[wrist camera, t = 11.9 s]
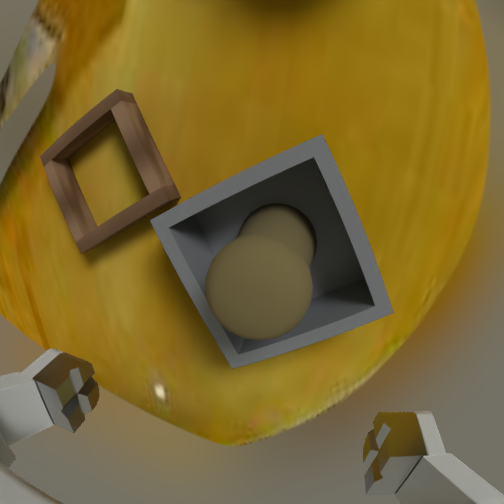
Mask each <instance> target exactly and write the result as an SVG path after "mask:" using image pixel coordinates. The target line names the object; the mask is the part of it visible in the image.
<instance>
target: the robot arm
mask: <svg viewBox="0 0 504 504" xmlns="http://www.w3.org/2000/svg"><path fill="white" fill-rule="evenodd" d="M94 373H95V372H94V369H93V366H92V364H91V363H89V362H88V361H85V360H83V359H80V358H77V357H75V356H72V355H70V354H67V353H64V352H62V351H59V350H57V349H54V348H53V349H48V350H47V351H46V352H45V353H44V354H42V355H41V356H40V357H39V358H38V359H37V360H36V361H34V362H33V363H32V364H31V365H29V366H28V367H27V368H26V369H25V370H24V371H22V372H21V373H19V372H15V373H11V374H7V375H3V376H0V504H63V503H61V502H59V501H58V500H56V499H54V498H53V497H51V496H49V495H48V494H46V493H45V492H43V491H41V490H40V489H38V488H37V487H35V486H34V485H32V484H30V483H29V482H27V481H26V480H25V479H23V478H22V477H20V476H19V475H17V474H16V473H15V472H13V471H12V470H11V469H9V467H10V466H11V464H12V463H13V462H14V461H15V460H16V459H15V455H14V453H13V452H12V450H11V449H10V447H9V445H12V444H14V443H16V442H18V441H20V440H23V439H25V438H27V437H29V436H32V435H33V434H36V433H38V432H40V431H42V430H44V429H46V428H49V427H51V426H52V425H53V424H55V425H57V426H59V427H62V428H64V429H66V430H68V431H70V432H72V433H75V431H76V430H77V429H78V428H79V426H80V425H81V424H82V423H83V422H84V420H85V413H88V412H90V411H92V410H93V409H94V408H95V406H96V405H97V402H98V399H99V387H98V384H97V382H96V381H95V380H94V379H93V377H92V376H93V374H94ZM373 424H374V429H373V430H371V431H370V432H369V433H368V435H367V437H366V439H365V443H364V448H363V463H364V464H365V465H366V467H368V470H367V472H366V474H365V489H366V495H378V494H379V495H380V494H395V496H396V497H397V499H398V500H399V501H400V503H401V504H504V495H503V494H501V493H500V492H499V491H497V490H496V489H495V488H494V487H492V486H491V485H490V484H489V483H487V482H486V481H485V480H483V479H482V478H481V477H480V476H478V475H477V474H476V473H475V472H473V471H472V470H471V469H470V468H468V467H467V466H466V465H465V464H463V463H462V462H461V461H459V460H458V459H457V458H456V457H455V456H453V455H452V454H451V453H447V454H446V452H445V449H444V446H443V443H442V440H441V437H440V434H439V431H438V428H437V426H436V423H435V420H434V417H433V415H432V413H431V412H430V411H420V412H419V411H418V412H379V413H378V414H377V415H376V417H375V419H374V421H373Z"/></svg>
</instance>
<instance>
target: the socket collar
mask: <svg viewBox="0 0 504 504" xmlns="http://www.w3.org/2000/svg"><path fill="white" fill-rule="evenodd" d="M115 120H116V122H117V125H118V127H119V129H120V131H121V134H122V136H123V138H124V140H125V143H126V145H127V147H128V149H129V152H130V154H131V156H132V158H133V160H134V162H135V165H136V167H137V169H138V171H139V173H140V175H141V177H142V180H143V182H144V184H145V186H146V188H147V190H148V192H149V195H147V196H146V197H144V198H142V199H141V200H139V201H138V202H136V203H134V204H133V205H131V206H130V207H128V208H126V209H125V210H123V211H122V212H120V213H119V214H117V215H115V216H114V217H112V218H111V219H109V220H108V221H106V222H105V223H103V224H102V225H100V226H99V227H97V225H96V223H95V221H94V218H93V216H92V214H91V212H90V210H89V208H88V205H87V203H86V201H85V199H84V196H83V194H82V192H81V189H80V187H79V185H78V182H77V180H76V178H75V175H74V173H73V170H72V168H71V165H70V163H69V160H68V158H69V157H70V156H71V155H73V154H74V153H75V152H76V151H77V150H78V149H80V148H81V147H82V146H83V145H84V144H86V143H87V142H88V141H89V140H90V139H92V138H93V137H94V136H95V135H97V134H98V133H99V132H100V131H102V130H103V129H104V128H106V127H107V126H108V125H109V124H111V123H112V122H113V121H115ZM40 157H41V160H42V163H43V166H44V168H45V171H46V174H47V176H48V179H49V181H50V184H51V187H52V189H53V192H54V194H55V196H56V199H57V201H58V204H59V206H60V208H61V211H62V213H63V215H64V218H65V220H66V222H67V224H68V226H69V229H70V231H71V233H72V235H73V237H74V239H75V241H76V244H77V246H78V248H79V250H80V252H81V254H82V253H84V252H86V251H88V250H90V249H92V248H95V247H97V246H98V245H100V244H101V243H103V242H105V241H106V240H108V239H110V238H111V237H113V236H114V235H116V234H118V233H119V232H121V231H123V230H124V229H126V228H128V227H129V226H131V225H133V224H134V223H136V222H138V221H139V220H141V219H143V218H145V217H146V216H148V215H150V214H152V213H153V212H155V211H157V210H159V209H160V208H162V207H164V206H166V205H167V204H169V203H171V202H173V201H175V200H176V199H178V198H180V197H181V196H180V194H179V192H178V190H177V188H176V186H175V184H174V182H173V180H172V178H171V176H170V174H169V172H168V170H167V167H166V165H165V163H164V161H163V159H162V157H161V155H160V153H159V151H158V149H157V146H156V144H155V142H154V140H153V138H152V136H151V134H150V132H149V129H148V127H147V125H146V123H145V121H144V119H143V116H142V114H141V112H140V110H139V108H138V106H137V103H136V101H135V99H134V97H133V94H132V93H128V92H125V91H121V90H118V89H117V90H115V91H114V92H113V93H111V94H110V95H109V96H107V97H106V98H105V99H104V100H102V101H101V102H100V103H99V104H97V105H96V106H95V107H94V108H93V109H91V110H90V111H89V112H88V113H87V114H85V115H84V116H83V117H82V118H81V119H80V120H78V121H77V122H76V123H75V124H74V125H73V126H72V127H71V128H69V129H68V130H67V131H66V132H65V133H64V134H63V135H62V136H61V137H60V138H59V139H58V140H56V141H55V142H54V143H53V144H52V145H51V146H50V147H49V148H48V149H47V150H46V151H45V152H44V153H43V154H42V155H41V156H40Z"/></svg>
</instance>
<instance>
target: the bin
mask: <svg viewBox="0 0 504 504" xmlns="http://www.w3.org/2000/svg"><path fill="white" fill-rule="evenodd" d="M273 203H276V204H286V205H289V206H291V207H294V208H296V209H298V210H300V211H301V212H302V213H303V214H304V215H305V216H306V217H307V218H308V219H309V220H310V222H311V224H312V225H313V227H314V229H315V233H316V238H317V247H316V254H315V256H314V258H313V261H312V263H311V265H310V267H309V269H310V274H311V279H312V284H313V291H312V297H311V304H310V306H309V308H308V310H307V312H306V313H305V315H304V317H303V319H302V320H301V322H300V323H299V324H298V325H296V326H295V327H294V328H293V329H292V330H291V331H290V332H288V333H286V334H284V335H282V336H279V337H277V338H274V339H267V340H253V339H246V338H242V337H240V336H238V335H236V334H233V333H231V332H230V331H229V330H227V329H226V328H225V327H224V326H223V325H221V324H220V323H219V322H218V321H217V319H216V318H215V316H214V315H213V313H212V312H211V310H210V309H209V305H208V302H207V299H206V296H205V280H206V275H207V272H208V269H209V267H210V264H211V261H212V260H213V258H214V257H215V256H216V255H217V254H218V253H219V251H220V250H221V249H222V248H223V247H224V246H225V245H227V244H229V243H230V242H232V241H234V240H235V239H237V237H238V234H239V231H240V229H241V226H242V224H243V221H244V220H245V219H246V218H247V217H248V216H249V214H250V213H251V212H253V211H254V210H256V209H258V208H259V207H261V206H264V205H269V204H273ZM150 222H151V224H152V226H153V228H154V230H155V231H156V233H157V235H158V237H159V239H160V241H161V243H162V245H163V247H164V249H165V251H166V253H167V255H168V257H169V259H170V260H171V262H172V264H173V266H174V268H175V270H176V272H177V274H178V275H179V277H180V279H181V281H182V283H183V285H184V286H185V288H186V290H187V292H188V294H189V296H190V297H191V299H192V301H193V303H194V304H195V306H196V308H197V310H198V312H199V313H200V315H201V317H202V319H203V320H204V322H205V324H206V325H207V327H208V329H209V331H210V332H211V334H212V336H213V337H214V339H215V341H216V342H217V344H218V346H219V347H220V349H221V351H222V352H223V354H224V356H225V357H226V359H227V361H228V362H229V364H230V366H231V367H232V369H233V368H237V367H241V366H244V365H247V364H251V363H254V362H258V361H261V360H264V359H268V358H271V357H274V356H277V355H280V354H283V353H287V352H290V351H293V350H296V349H299V348H302V347H305V346H308V345H310V344H313V343H316V342H319V341H322V340H325V339H327V338H330V337H333V336H336V335H338V334H341V333H344V332H346V331H349V330H352V329H354V328H357V327H359V326H362V325H365V324H367V323H370V322H372V321H375V320H377V319H379V318H382V317H384V316H387V315H389V314H392V313H393V310H392V307H391V303H390V300H389V297H388V294H387V291H386V288H385V285H384V282H383V279H382V277H381V274H380V271H379V268H378V265H377V262H376V260H375V257H374V254H373V252H372V249H371V246H370V244H369V241H368V238H367V236H366V233H365V231H364V228H363V225H362V223H361V220H360V218H359V216H358V213H357V211H356V208H355V206H354V203H353V201H352V199H351V196H350V194H349V192H348V189H347V187H346V185H345V182H344V180H343V178H342V176H341V173H340V171H339V169H338V167H337V165H336V163H335V160H334V158H333V156H332V154H331V152H330V150H329V148H328V145H327V143H326V141H325V139H324V137H323V135H320V136H317V137H315V138H313V139H310V140H308V141H306V142H304V143H301V144H299V145H297V146H295V147H293V148H290V149H288V150H286V151H284V152H282V153H280V154H278V155H275V156H273V157H271V158H269V159H267V160H265V161H263V162H261V163H259V164H257V165H254V166H252V167H250V168H248V169H246V170H244V171H242V172H240V173H238V174H236V175H234V176H232V177H230V178H228V179H226V180H224V181H222V182H220V183H218V184H216V185H215V186H213V187H211V188H209V189H207V190H205V191H203V192H201V193H199V194H197V195H195V196H194V197H192V198H190V199H188V200H186V201H184V202H182V203H181V204H179V205H177V206H175V207H173V208H171V209H170V210H168V211H166V212H164V213H162V214H161V215H159V216H157V217H155V218H153V219H152V220H150Z"/></svg>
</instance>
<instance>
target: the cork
mask: <svg viewBox="0 0 504 504" xmlns="http://www.w3.org/2000/svg"><path fill="white" fill-rule="evenodd" d="M316 247H317V238H316V233H315V229H314V227H313V225H312V224H311V222H310V220H309V219H308V218H307V217H306V216H305V215H304V214H303V213H302V212H301V211H300V210H298V209H296V208H294V207H291V206H289V205H286V204H276V203H273V204H269V205H264V206H261V207H259V208H258V209H256V210H254V211H253V212H251V213H250V214H249V216H248V217H247V218H246V219H245V220H244V221H243V224H242V226H241V229H240V231H239V234H238V237H237V239H235V240H234V241H232V242H230V243H229V244H227V245H225V246H224V247H223V248H222V249H221V250H220V251H219V253H218V254H217V255H216V256H215V257H214V258H213V260H212V261H211V264H210V267H209V269H208V272H207V275H206V280H205V296H206V299H207V302H208V305H209V309H210V310H211V312H212V313H213V315H214V316H215V318H216V319H217V321H218V322H219V323H220V324H221V325H223V326H224V327H225V328H226V329H227V330H229V331H230V332H231V333H233V334H236V335H238V336H240V337H242V338H246V339H253V340H267V339H274V338H277V337H279V336H282V335H284V334H286V333H288V332H290V331H291V330H292V329H293V328H294V327H295V326H296V325H298V324H299V323H300V322H301V320H302V319H303V317H304V315H305V313H306V312H307V310H308V308H309V306H310V304H311V297H312V291H313V284H312V279H311V274H310V269H309V267H310V265H311V263H312V261H313V258H314V256H315V254H316Z"/></svg>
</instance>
